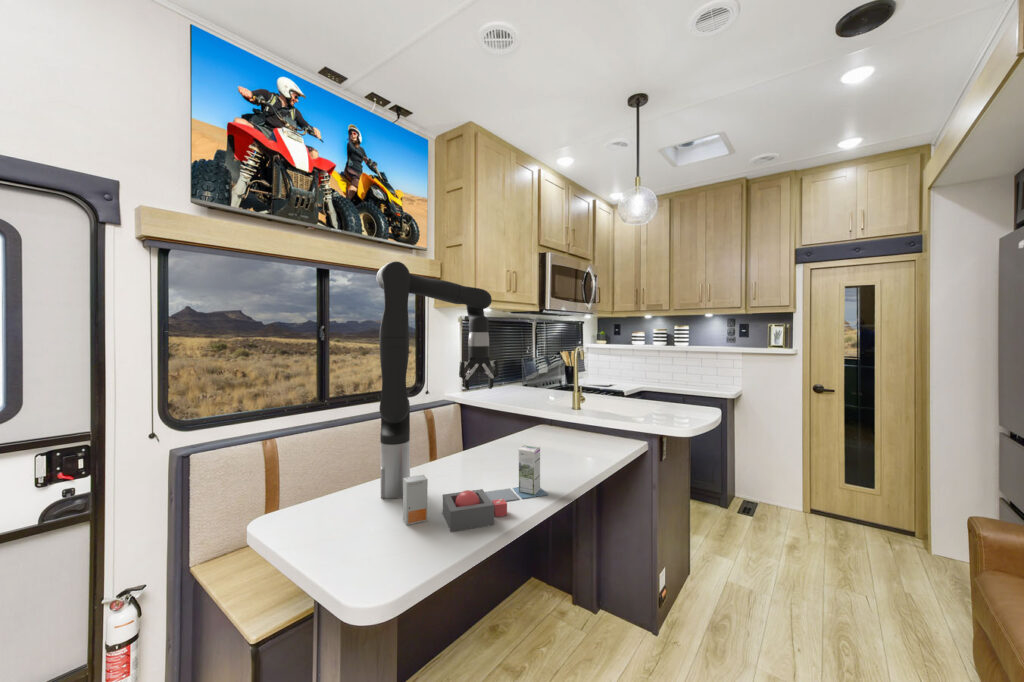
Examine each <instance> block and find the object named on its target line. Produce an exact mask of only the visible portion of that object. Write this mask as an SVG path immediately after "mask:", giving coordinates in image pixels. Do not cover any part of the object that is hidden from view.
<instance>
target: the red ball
mask: <svg viewBox="0 0 1024 682" xmlns="http://www.w3.org/2000/svg"><path fill="white" fill-rule="evenodd" d="M460 492H461V493H460V494H459V495H458V496H457V498H456V501H455V506H456V507H462V506H469V505H476V504H480V500H479V497H478V495H477V494H476V493H475V492H473V491H472V490H463V491H460Z"/></svg>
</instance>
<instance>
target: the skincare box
mask: <svg viewBox="0 0 1024 682" xmlns="http://www.w3.org/2000/svg"><path fill="white" fill-rule="evenodd" d="M428 481H429V480H428V478H427V477H426V476H425V474H420V475H412V476H410V477H407V478H403V497H402V520H403V521H404V523H405V525H406V526H409V525H413V524H419V523H425V522H428V486H429V485H428Z"/></svg>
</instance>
